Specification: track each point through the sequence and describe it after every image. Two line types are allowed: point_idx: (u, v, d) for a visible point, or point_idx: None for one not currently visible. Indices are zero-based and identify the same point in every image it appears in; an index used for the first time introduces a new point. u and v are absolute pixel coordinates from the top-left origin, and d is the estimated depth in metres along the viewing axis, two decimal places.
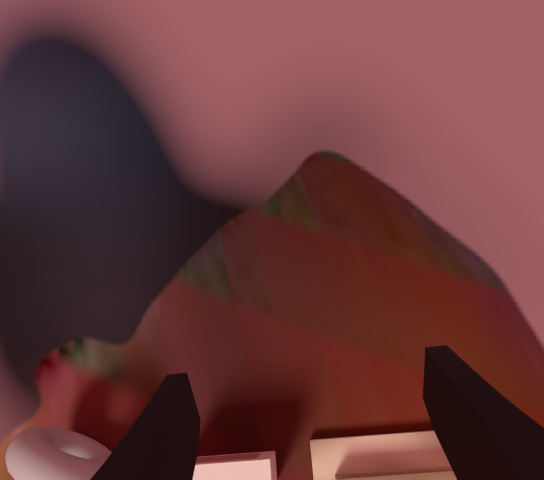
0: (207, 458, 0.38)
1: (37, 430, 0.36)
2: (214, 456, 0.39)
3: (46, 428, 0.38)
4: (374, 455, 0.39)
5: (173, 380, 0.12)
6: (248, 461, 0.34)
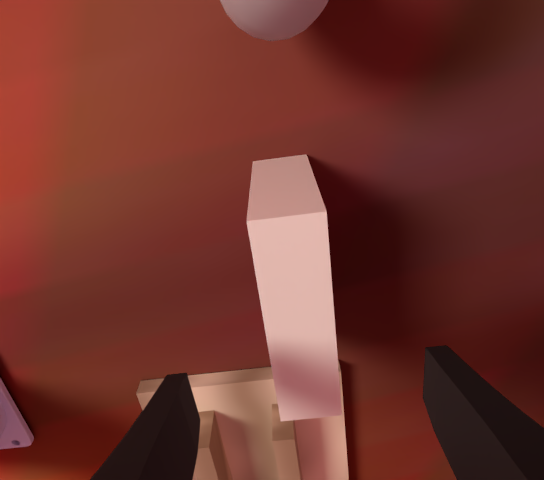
0: None
1: None
2: None
3: None
4: (319, 444, 0.26)
5: (173, 380, 0.12)
6: (337, 380, 0.16)
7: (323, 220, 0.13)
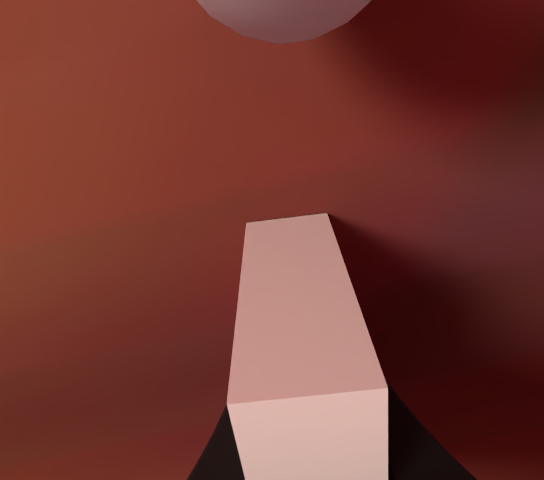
0: None
1: None
2: None
3: None
4: None
5: None
6: None
7: (380, 401, 0.06)
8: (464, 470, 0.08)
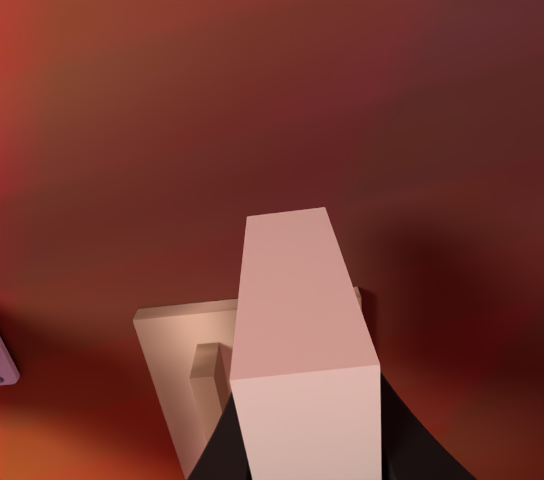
0: None
1: None
2: None
3: None
4: None
5: None
6: None
7: (373, 377, 0.07)
8: (464, 470, 0.08)
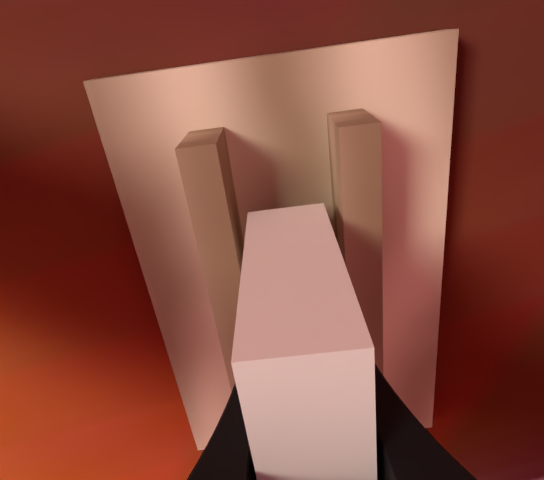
0: None
1: None
2: None
3: None
4: (401, 211, 0.15)
5: None
6: None
7: (367, 360, 0.07)
8: (464, 470, 0.08)
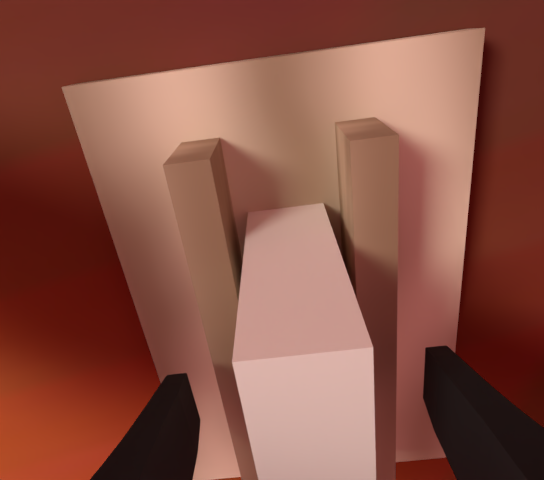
0: None
1: None
2: None
3: None
4: (416, 229, 0.14)
5: (173, 380, 0.12)
6: None
7: (366, 360, 0.07)
8: None
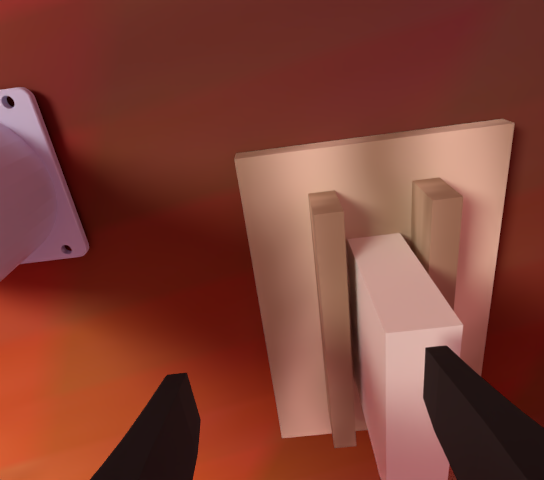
0: None
1: None
2: None
3: None
4: (463, 250, 0.20)
5: (173, 380, 0.12)
6: None
7: (458, 332, 0.13)
8: None
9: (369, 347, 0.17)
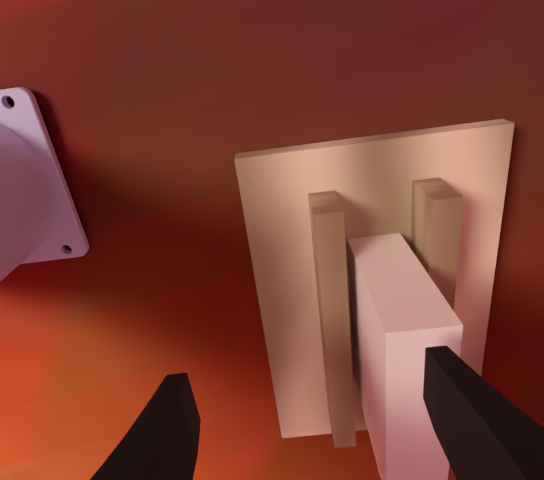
0: None
1: None
2: None
3: None
4: (463, 250, 0.20)
5: (173, 380, 0.12)
6: None
7: (458, 332, 0.13)
8: None
9: (369, 347, 0.17)
